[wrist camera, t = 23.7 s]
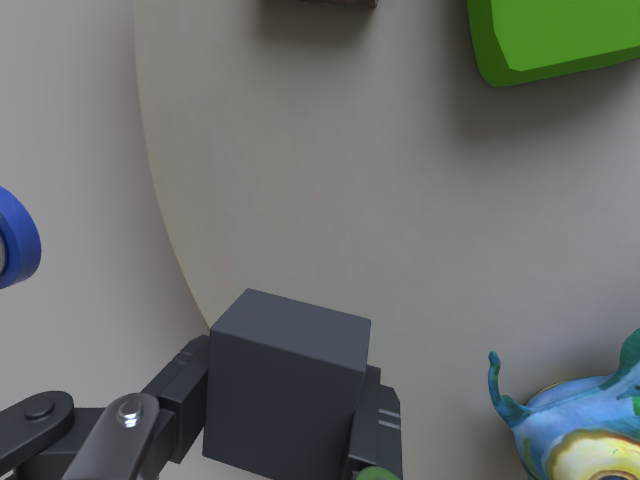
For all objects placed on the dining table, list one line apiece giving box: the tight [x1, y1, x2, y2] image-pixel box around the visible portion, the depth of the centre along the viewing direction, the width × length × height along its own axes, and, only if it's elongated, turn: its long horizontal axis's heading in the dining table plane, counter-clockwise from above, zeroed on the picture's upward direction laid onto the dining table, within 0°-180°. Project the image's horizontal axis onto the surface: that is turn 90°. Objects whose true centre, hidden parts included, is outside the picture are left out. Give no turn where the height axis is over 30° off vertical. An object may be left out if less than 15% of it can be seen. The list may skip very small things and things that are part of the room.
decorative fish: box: [488, 328, 640, 480], centre depth 21 cm, size 13×12×6 cm
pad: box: [202, 289, 371, 480], centre depth 11 cm, size 4×5×3 cm
